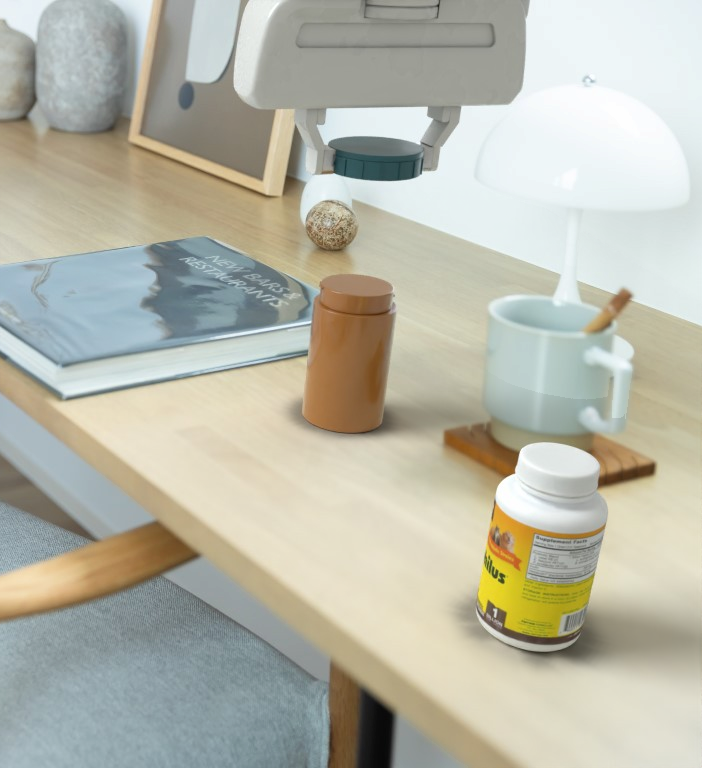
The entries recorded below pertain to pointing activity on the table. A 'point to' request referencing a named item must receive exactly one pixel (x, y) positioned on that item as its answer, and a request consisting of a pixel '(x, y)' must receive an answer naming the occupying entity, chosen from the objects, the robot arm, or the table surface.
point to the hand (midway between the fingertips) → (370, 171)
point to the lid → (377, 158)
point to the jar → (349, 353)
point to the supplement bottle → (542, 548)
